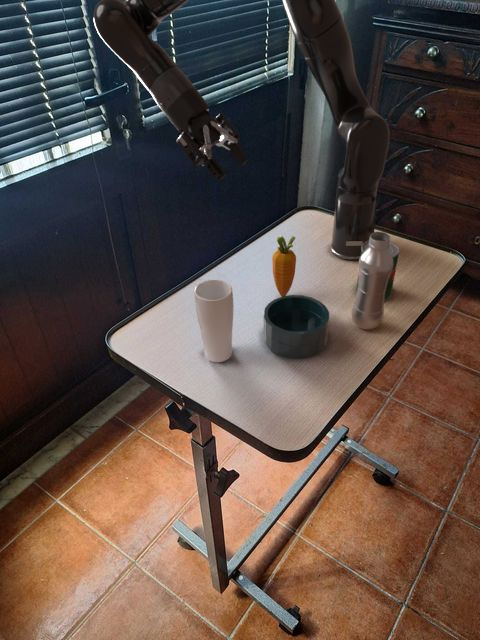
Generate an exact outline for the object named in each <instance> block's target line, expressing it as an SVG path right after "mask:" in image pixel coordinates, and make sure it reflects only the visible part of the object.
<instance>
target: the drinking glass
mask: <svg viewBox="0 0 480 640" xmlns="http://www.w3.org/2000/svg"><path fill="white" fill-rule="evenodd" d="M193 292H194V307H195V312H196V318H197V322H198V326H199V331H200V336H201V341H202V346H203V354H204V357H205V359H206V360H208V361H210V362H213V363H222V362H225V361H226V362H227V360H229V359H230V358H231V357H232V355H233V330H234V329H233V327H234V311H235V310H234V308H235V306H234V292H233V287H232V285H231V284H230V283H229V282H227V281H224V280H222V279H209V280H205V281H202V282H200V283H198V284H197V285H196V287H195V288H194V291H193Z"/></svg>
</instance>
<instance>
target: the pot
mask: <svg viewBox="0 0 480 640" xmlns="http://www.w3.org/2000/svg"><path fill="white" fill-rule="evenodd" d="M329 327H330V311H329V309H328V307H327V306H326V305H325V304H324V303H323V302H321V300H318V299H316V298H314V297H311V296H308V295H303V294H287V295H286V296H279V297H276V298H274V299H272V300H271V301H269V302H268V303H267V304H266V306H265V308H264V309H263V342H264V344H265V345H266V347H267V348H268V349H269V351H271V352H273V353H274V354H276V355H278V356H280V357H283V358H288V359H307V358H309V357H313V356H315V355H317V354H318V353H320V352H321V351H322V350H323V349H324V348H325V347H326V345H327V342H328V336H329Z"/></svg>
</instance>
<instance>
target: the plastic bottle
mask: <svg viewBox="0 0 480 640" xmlns="http://www.w3.org/2000/svg"><path fill="white" fill-rule="evenodd" d="M389 242H391V236H390V235H389V234H388V233H386V232H384V231H374V232H373V233H372V234H371V235H370V240H369V243H368V245H369V247H368V248H367V249H366V250H365V251H364V252H363V253H362V255H361V257H360V259H358V272H359V285H358V291H357V293H356V296H355V300H354V302H353V305H352V307H351V320H352V322H353V323H354V324H355V326H356V327H358V328H360V329H363V330H374V329H376V328H377V327H379V326H380V325H381V324H382V322H383V320H384V317H385V306H384V305H385V301H384V296H385V290H386V286H387V282H388V279H389V277H390V274H391V271H392V268H393V258H392V256H391V254H390V252H389V250H388V248H389V246H390V243H389Z"/></svg>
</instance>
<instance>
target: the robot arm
mask: <svg viewBox="0 0 480 640" xmlns="http://www.w3.org/2000/svg"><path fill="white" fill-rule="evenodd" d="M188 2H190V0H126V1H123V0H100V1H99V2H97V4H96V5H95V7H94V10H93V23H94V27H95V29H96V31H97V34H98V35H99V37H100V38H101V39H102V41H103V42H104V43H105V45H106V46H107V47H108V48H109V49H110V50H111V51H112V52H113V53H114V54H115V55H116V56H117V57H118V58H119V59H120V60H121V61H122V62H123V63H124V64H125V65H127V67H128V68H129V69H131V70H132V71H133V73H134V74H135V75H136V77H137V79H138V80H139V81H140V82H141V84H142V85H143V86H144V88H145V89H146V90H147V91H148V92H149V94H150V95H151V96H152V98H153V100H154V102H155V103H156V104H157V105H156V106H158V107H159V108H160V110H161V111H162V112H163V114H164V115H165V116H166V117H167V119H168V120H169V121H170V122H171V124H172V125H173V126H174V128H175V129H176V130H177V131H178V132H179V133H180V135H179V137H177V139H176V143H177V144H178V146H179V147H180V149H181V151H183V153H184V154H185V155H186V157H187V159H189V161H190V163H191V164H192V165H193V166H194V167H198V166H202V167H205V169H206V170H207V171H208V172H209V173H210V174H211V175H212V177H213V178H214V179H215V180H216V181H217V182H219V181H221V180H223V178H225V176H226V175H227V173H226V171H225V170H224V169H223V167H222V166H221V165H220V164H219V162H218V161H217V160H216V159H215V157H213V154H212V147H215V146H217V147H218V148H219V147H222V148H224V149H225V150H228V152H229V154H230V155H231V157H233V159H234V160H235V162H236V163H237V164H238V165H239V166H240V167H242V166H244V165H245V164H246V163H247V162H248V161H249V157H248V156H247V154H246V153H245V151H244V150H243V149H242V148H241V146H240V145H239V144H238V142H239V139H241V134H240V133H239V132H238V131H237V129H236V128H235V127H234V126H233V124H232V123H231V122H230V120H229V119H228V118H227V117H226V116H225V114H223V112H219V114H218V115H217V116H215V117H213V116H212V115H211V114H210V105H209V103H208V102H207V101H206V100H205V98H204V96H202V94H201V93H200V92H199V91H198V89H197V88H196V87H195V86H194V84H193V82H192V81H191V80H190V79H189V77H188V76H187V75H186V74H185V73H184V71H182V70H181V69H180V68H179V67H178V65H177V64H176V62H174V60H173V59H172V57H171V56H170V55H169V54H168V52H167V51H166V50H165V49H164V47H162V46H161V45H160V44H159V43H157V42H156V41H154V40H153V39H152V38H151V37H150V36H151V35H152V34H153V33H154V32H155V30H156V29H157V28H158V27H159V26H160V25H161V24H162V22H163V21H164V20H165V19H166V18H168V17H169V16H171V15H172V14H174V13H175V12H176V11H178V10H179V9H180V8H182V7H183V6H184V5H186V4H187V3H188ZM281 2H282V4H283V5H282V6H283V8H284V12H285V15H286V17H287V20H288V23H289V26H290V29H291V31H292V34H293V37H294V39H295V41H296V43H297V46H298V48H299V50H300V52H301V54H302V57H303V59H304V61H305V63H306V64H307V67H308V68H309V70H310V72H311V75H312V76H313V78H314V80H315V82H316V84H317V85H318V87H319V88H320V90H321V92H322V93H323V95H324V97H325V100H326V102H327V105H328V107H329V111H330V113H331V116H332V119H333V123H334V125H335V128H336V132H337V135H338V138H339V141H340V142H341V143H342V145H343V146H344V147H345V148H346V150H345V158H344V166H343V167H342V168H341V169H340V170H339V171H338V175H337V182H336V183H337V184H336V191H335V192H336V193H335V204H334V213H333V214H334V216H333V226H332V237H331V245H330V251H331V254H332V255H334V256H335V257H337V258H339V259H342V260H345V261H357V260H358V261H359V259H360V257H361V247H362V245H363V243H365V242H366V241H369V240H370V235H371V234H372V233H373V232H375V229H376V224H377V223H376V222H377V215H376V213H375V209H376V203H377V195H378V187H379V183H380V180H381V178H382V176H383V174H384V170H385V165H386V161H387V155H388V150H389V144H390V128H389V124H388V122H387V121H386V119H385V118H384V117H383V116H382V115H380V114H379V113H378V112H377V111H375V109H374V108H373V107H372V106H371V105H370V103H369V100H368V99H367V97H366V95H365V93H364V91H363V89H362V87H361V85H360V82H359V80H358V77H357V72H356V66H355V58H354V50H353V45H352V41H351V37H350V34H349V32H348V28H347V25H346V24H345V20H344V19H343V16H342V13H341V11H340V8H339V6H338V4H337V2H336V0H281ZM229 132H230V133H231V134H230V133H229ZM194 154H195V155H196V156H195V155H194Z"/></svg>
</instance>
